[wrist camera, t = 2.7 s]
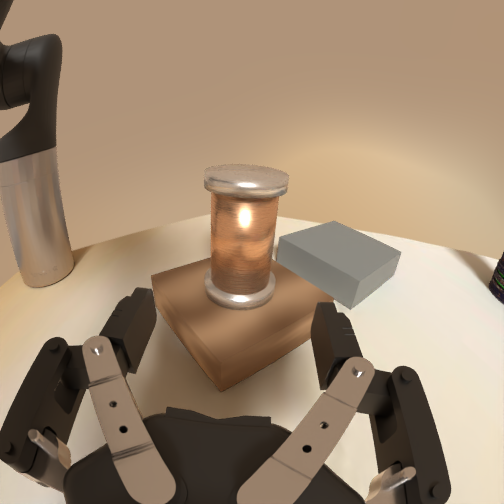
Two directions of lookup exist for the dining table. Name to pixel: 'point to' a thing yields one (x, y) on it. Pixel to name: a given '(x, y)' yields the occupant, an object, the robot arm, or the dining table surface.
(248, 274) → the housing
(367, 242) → the slate stand
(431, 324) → the dining table surface
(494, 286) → the dark blue cylinder
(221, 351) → the walnut stand
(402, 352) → the dining table surface
